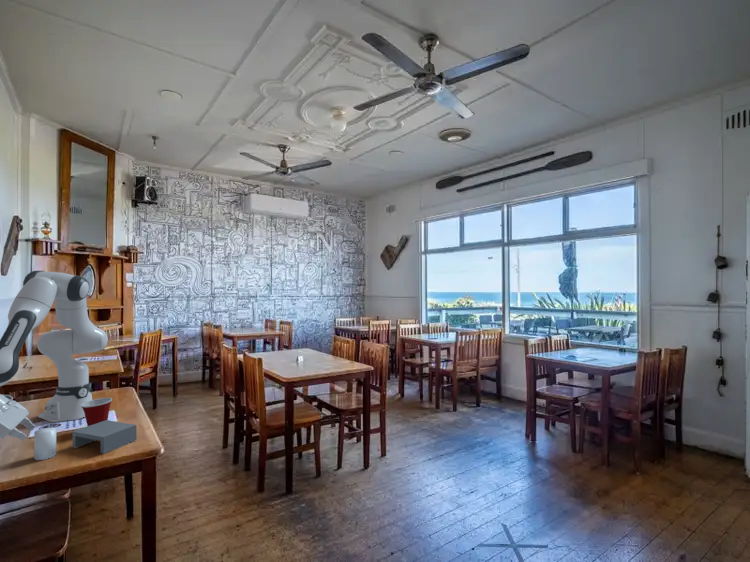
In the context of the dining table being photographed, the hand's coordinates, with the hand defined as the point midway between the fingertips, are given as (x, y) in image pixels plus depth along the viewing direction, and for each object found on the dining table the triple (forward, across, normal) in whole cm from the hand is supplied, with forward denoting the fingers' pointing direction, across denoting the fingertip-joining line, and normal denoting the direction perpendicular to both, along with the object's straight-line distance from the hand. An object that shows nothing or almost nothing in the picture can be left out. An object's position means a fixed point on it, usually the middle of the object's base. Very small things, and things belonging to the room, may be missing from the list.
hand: (29, 433), depth 141 cm
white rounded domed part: (+9, 0, +3) cm, 10 cm away
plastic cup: (+18, +22, -5) cm, 29 cm away
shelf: (+21, +4, -9) cm, 23 cm away
